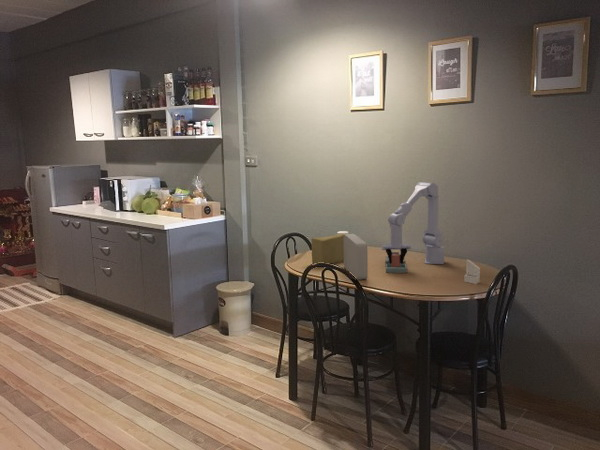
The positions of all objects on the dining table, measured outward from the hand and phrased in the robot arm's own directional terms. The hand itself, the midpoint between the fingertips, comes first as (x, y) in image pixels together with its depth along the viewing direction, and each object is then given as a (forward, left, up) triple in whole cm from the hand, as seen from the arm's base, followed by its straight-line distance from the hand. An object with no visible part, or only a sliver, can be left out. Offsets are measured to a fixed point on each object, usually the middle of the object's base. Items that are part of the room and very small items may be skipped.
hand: (396, 263), depth 258 cm
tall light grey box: (+21, +8, -4) cm, 22 cm away
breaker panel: (+1, -11, -4) cm, 12 cm away
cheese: (+34, -14, -4) cm, 37 cm away
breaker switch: (0, -8, 0) cm, 8 cm away
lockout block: (0, 0, -2) cm, 2 cm away
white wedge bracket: (-34, +18, -4) cm, 39 cm away
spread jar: (+31, -40, -4) cm, 51 cm away
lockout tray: (0, 0, -4) cm, 4 cm away
